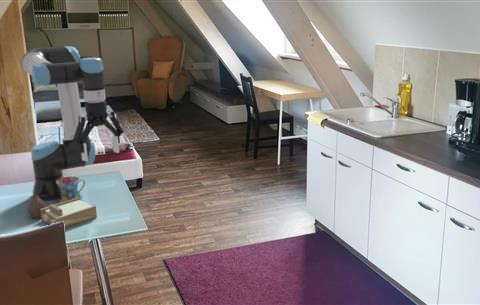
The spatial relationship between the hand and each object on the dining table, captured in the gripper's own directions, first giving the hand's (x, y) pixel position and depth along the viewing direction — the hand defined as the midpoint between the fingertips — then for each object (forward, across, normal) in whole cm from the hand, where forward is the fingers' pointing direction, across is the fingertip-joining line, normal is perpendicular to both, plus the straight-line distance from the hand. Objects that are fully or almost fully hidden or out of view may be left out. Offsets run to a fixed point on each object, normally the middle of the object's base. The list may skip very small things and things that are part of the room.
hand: (101, 156), depth 181 cm
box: (+26, -10, +11) cm, 30 cm away
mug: (+26, 0, +26) cm, 37 cm away
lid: (+23, -9, +11) cm, 27 cm away
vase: (+26, -17, +24) cm, 39 cm away
